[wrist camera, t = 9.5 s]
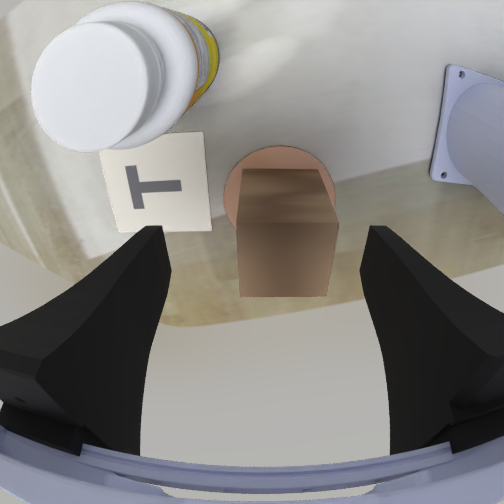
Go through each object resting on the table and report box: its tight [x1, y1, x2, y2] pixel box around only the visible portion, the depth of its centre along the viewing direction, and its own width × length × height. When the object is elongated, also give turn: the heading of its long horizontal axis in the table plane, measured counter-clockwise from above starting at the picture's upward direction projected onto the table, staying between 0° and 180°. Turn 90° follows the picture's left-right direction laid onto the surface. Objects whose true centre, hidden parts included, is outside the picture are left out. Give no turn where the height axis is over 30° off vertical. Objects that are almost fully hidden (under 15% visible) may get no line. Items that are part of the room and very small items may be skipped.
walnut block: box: [236, 169, 339, 297], centre depth 18 cm, size 4×4×6 cm
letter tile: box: [99, 131, 212, 232], centre depth 20 cm, size 7×7×1 cm
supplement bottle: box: [31, 1, 219, 153], centre depth 11 cm, size 6×6×10 cm
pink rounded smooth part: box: [224, 146, 335, 229], centre depth 20 cm, size 7×7×1 cm
